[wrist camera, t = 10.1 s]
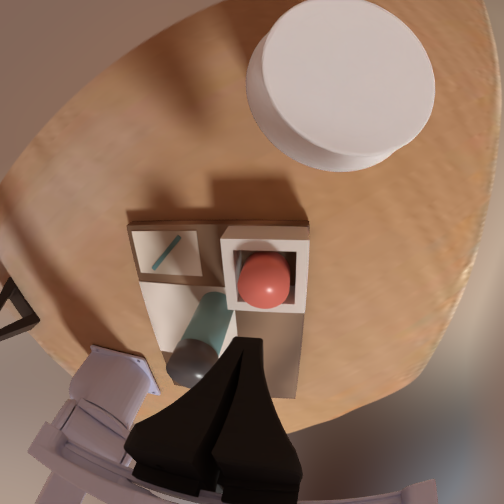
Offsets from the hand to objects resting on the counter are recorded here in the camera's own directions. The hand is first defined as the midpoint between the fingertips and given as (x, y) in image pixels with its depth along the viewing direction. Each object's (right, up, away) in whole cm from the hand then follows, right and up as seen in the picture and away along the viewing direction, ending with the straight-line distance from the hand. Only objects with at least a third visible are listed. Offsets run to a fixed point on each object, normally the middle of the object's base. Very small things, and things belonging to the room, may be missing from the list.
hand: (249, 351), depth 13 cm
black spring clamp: (-39, -4, +20) cm, 44 cm away
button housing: (+1, +4, +8) cm, 9 cm away
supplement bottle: (+5, +15, +4) cm, 16 cm away
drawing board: (-3, -2, +13) cm, 14 cm away
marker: (-3, 0, +11) cm, 11 cm away
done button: (+1, +3, +7) cm, 8 cm away
